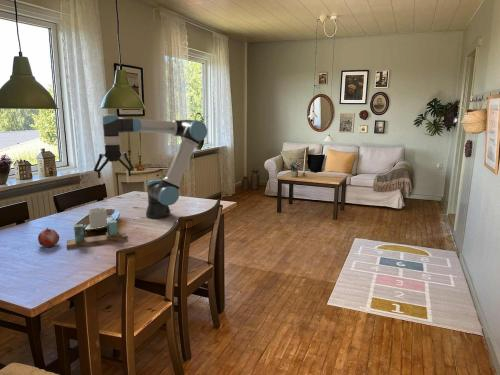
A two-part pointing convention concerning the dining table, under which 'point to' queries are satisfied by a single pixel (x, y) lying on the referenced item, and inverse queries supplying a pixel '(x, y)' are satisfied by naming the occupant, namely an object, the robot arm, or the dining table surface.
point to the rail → (92, 238)
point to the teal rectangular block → (112, 227)
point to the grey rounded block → (97, 217)
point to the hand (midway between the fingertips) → (115, 183)
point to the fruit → (48, 238)
